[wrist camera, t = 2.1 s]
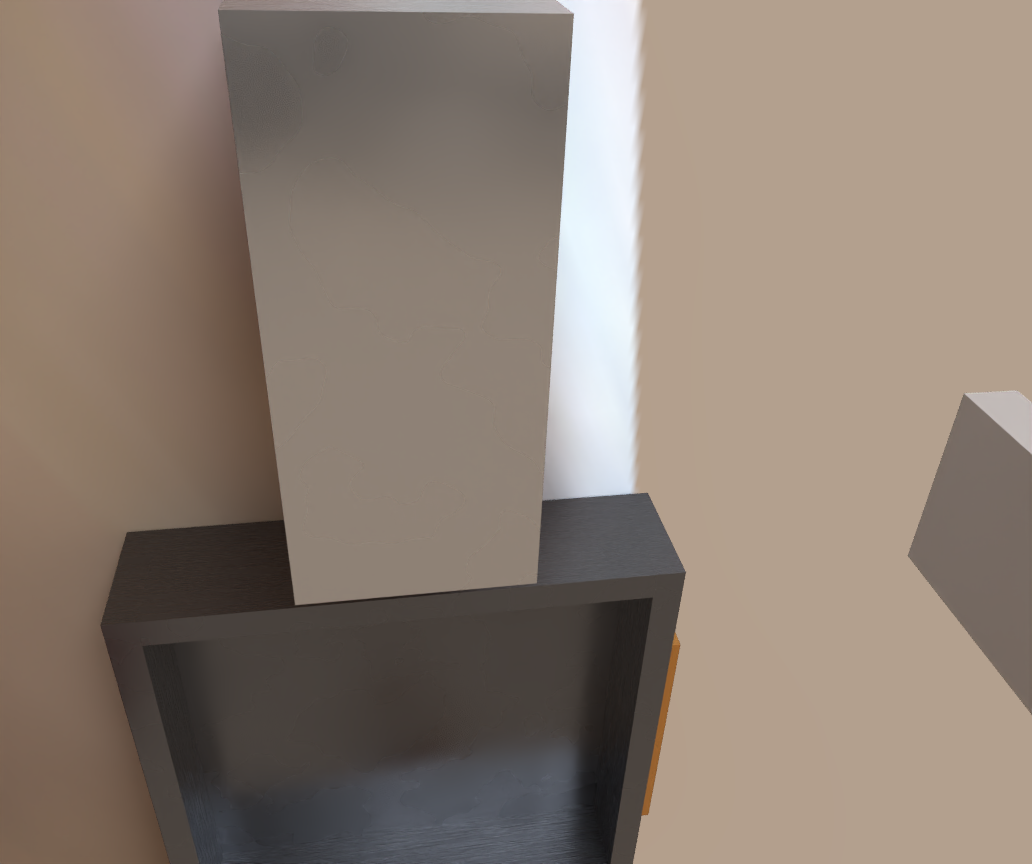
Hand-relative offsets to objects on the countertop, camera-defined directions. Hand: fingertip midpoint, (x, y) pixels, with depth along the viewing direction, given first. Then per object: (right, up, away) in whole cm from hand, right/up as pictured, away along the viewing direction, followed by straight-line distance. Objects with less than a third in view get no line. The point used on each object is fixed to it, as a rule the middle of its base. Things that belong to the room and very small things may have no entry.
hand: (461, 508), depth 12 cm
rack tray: (-3, -13, +22) cm, 26 cm away
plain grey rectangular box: (-2, +6, +9) cm, 12 cm away
